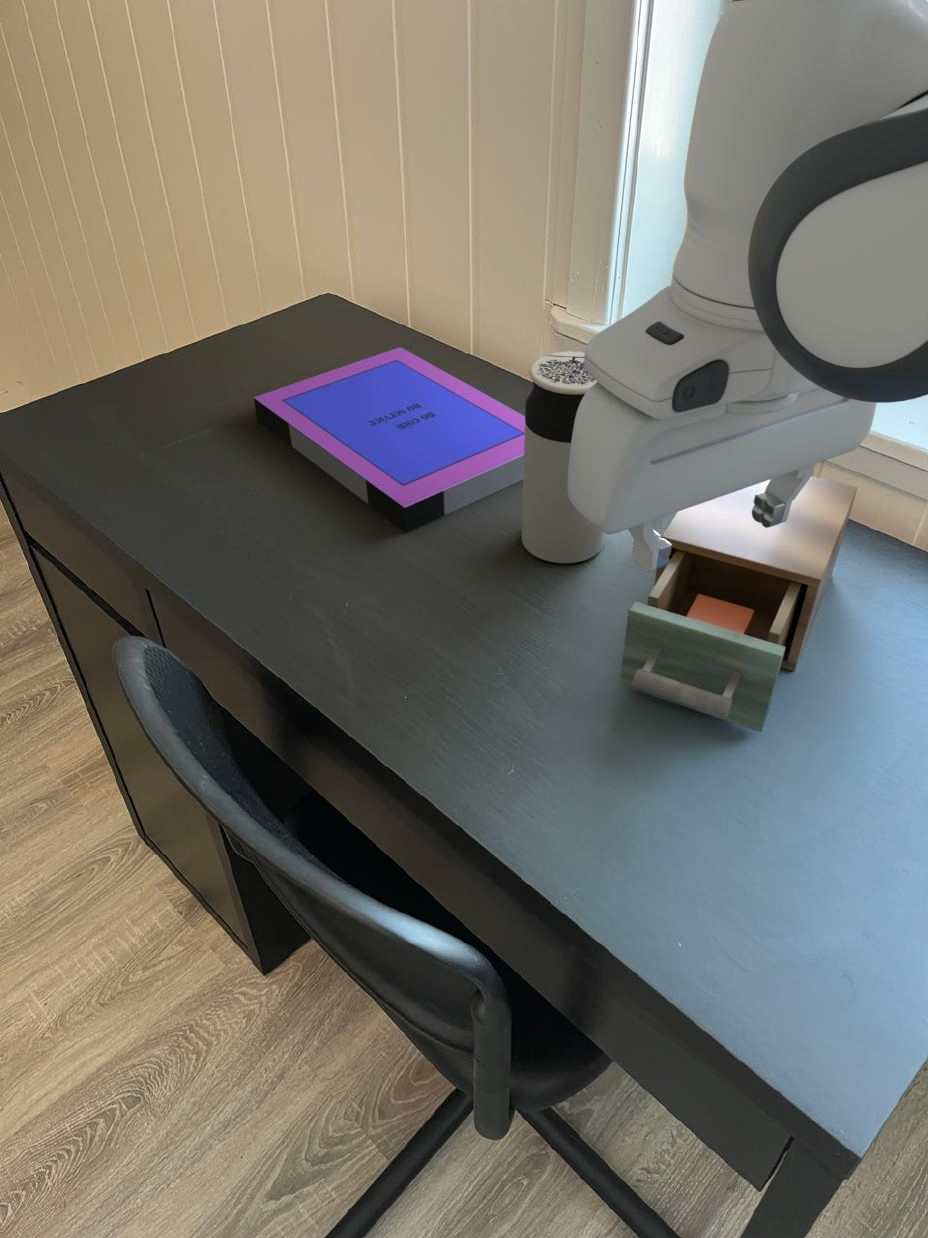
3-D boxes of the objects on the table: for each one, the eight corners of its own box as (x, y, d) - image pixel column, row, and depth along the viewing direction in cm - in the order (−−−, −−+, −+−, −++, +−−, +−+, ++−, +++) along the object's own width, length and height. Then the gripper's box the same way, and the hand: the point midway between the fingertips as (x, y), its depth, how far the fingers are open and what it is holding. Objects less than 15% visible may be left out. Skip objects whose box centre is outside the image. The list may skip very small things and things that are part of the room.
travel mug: (595, 572, 88) (611, 396, 77) (512, 558, 90) (516, 384, 78) (610, 525, 94) (627, 354, 82) (532, 513, 96) (538, 344, 84)
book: (400, 346, 120) (563, 437, 101) (401, 368, 121) (561, 461, 103) (253, 397, 110) (404, 507, 92) (257, 420, 112) (406, 532, 94)
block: (744, 652, 77) (754, 609, 74) (728, 687, 74) (738, 644, 71) (690, 635, 78) (698, 593, 75) (673, 669, 75) (680, 626, 72)
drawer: (745, 771, 68) (766, 695, 63) (598, 719, 73) (607, 644, 68) (802, 628, 80) (823, 554, 75) (673, 590, 85) (684, 518, 79)
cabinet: (794, 672, 78) (821, 579, 71) (648, 626, 82) (661, 536, 76) (831, 575, 87) (858, 486, 81) (699, 539, 92) (714, 453, 86)
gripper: (848, 274, 56) (799, 475, 65) (558, 350, 49) (548, 563, 58) (934, 310, 52) (869, 519, 61) (630, 399, 45) (607, 621, 54)
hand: (710, 542), depth 59 cm, fingers open, 8 cm apart
